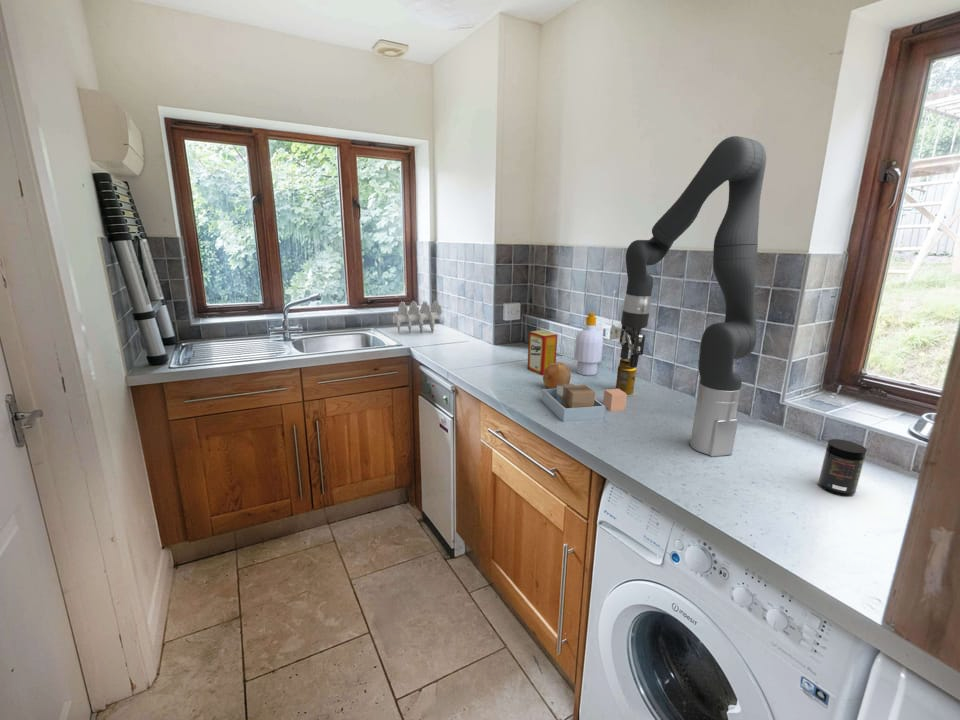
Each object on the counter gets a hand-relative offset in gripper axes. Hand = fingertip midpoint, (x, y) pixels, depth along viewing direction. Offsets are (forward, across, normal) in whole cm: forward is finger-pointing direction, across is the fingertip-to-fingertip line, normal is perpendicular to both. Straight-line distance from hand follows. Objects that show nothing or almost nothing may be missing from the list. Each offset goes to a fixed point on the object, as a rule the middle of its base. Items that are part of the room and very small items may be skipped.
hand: (628, 362), depth 140 cm
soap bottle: (+18, +40, +1) cm, 44 cm away
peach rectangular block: (+16, +1, +2) cm, 16 cm away
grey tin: (+16, +3, +17) cm, 23 cm away
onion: (+17, +19, +17) cm, 31 cm away
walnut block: (+15, -5, +15) cm, 22 cm away
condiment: (+17, +17, -6) cm, 25 cm away
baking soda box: (+18, +42, +19) cm, 50 cm away
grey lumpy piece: (+23, +111, +77) cm, 137 cm away
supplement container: (+14, -45, -34) cm, 58 cm away
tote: (+16, -1, +16) cm, 23 cm away
